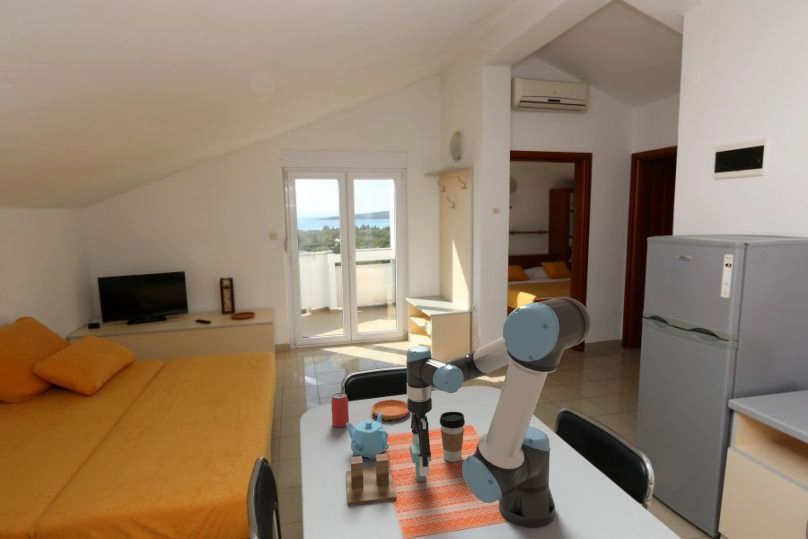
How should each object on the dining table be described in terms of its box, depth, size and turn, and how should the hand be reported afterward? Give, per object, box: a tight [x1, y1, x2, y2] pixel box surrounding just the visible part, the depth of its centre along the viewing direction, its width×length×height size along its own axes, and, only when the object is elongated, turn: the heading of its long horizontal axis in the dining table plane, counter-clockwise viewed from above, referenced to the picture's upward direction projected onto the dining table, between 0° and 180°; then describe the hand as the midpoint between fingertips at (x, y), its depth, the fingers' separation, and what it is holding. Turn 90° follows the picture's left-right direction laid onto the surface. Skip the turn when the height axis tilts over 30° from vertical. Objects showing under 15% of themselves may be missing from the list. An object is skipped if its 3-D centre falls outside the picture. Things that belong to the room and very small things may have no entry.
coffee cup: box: [439, 411, 466, 463], centre depth 151 cm, size 8×8×15 cm
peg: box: [409, 443, 432, 483], centre depth 140 cm, size 6×6×10 cm
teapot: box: [345, 412, 390, 461], centre depth 156 cm, size 15×14×11 cm
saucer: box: [371, 399, 410, 421], centre depth 187 cm, size 16×16×3 cm
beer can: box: [330, 392, 350, 428], centre depth 177 cm, size 7×7×12 cm
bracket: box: [345, 453, 398, 506], centre depth 136 cm, size 16×14×9 cm
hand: (420, 463), depth 140 cm, fingers open, 12 cm apart
